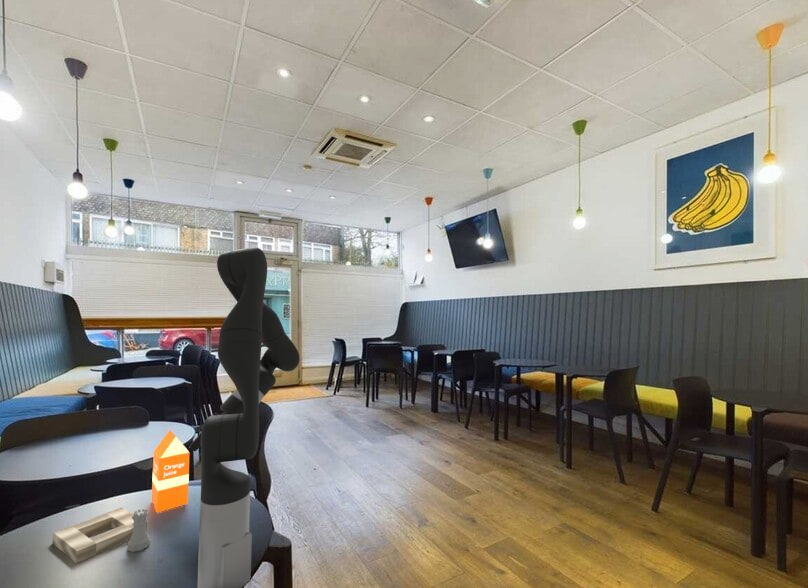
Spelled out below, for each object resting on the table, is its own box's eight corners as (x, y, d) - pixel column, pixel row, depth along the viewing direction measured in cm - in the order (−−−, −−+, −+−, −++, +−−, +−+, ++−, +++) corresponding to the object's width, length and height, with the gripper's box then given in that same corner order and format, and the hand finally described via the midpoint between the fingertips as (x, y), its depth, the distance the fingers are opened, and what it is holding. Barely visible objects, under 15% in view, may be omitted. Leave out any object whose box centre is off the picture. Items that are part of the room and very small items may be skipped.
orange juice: (156, 513, 104) (159, 439, 105) (150, 502, 110) (153, 431, 112) (188, 504, 109) (191, 433, 110) (181, 493, 116) (184, 426, 117)
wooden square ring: (146, 532, 95) (147, 522, 95) (76, 563, 83) (76, 551, 83) (120, 517, 102) (121, 507, 102) (52, 543, 90) (53, 532, 90)
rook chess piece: (138, 554, 86) (140, 517, 87) (121, 551, 87) (123, 515, 87) (154, 542, 90) (156, 507, 91) (139, 540, 91) (140, 506, 92)
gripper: (224, 389, 110) (177, 439, 101) (243, 398, 100) (193, 453, 91) (242, 405, 113) (198, 454, 105) (262, 415, 103) (216, 470, 95)
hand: (196, 453), depth 98 cm, fingers open, 8 cm apart
